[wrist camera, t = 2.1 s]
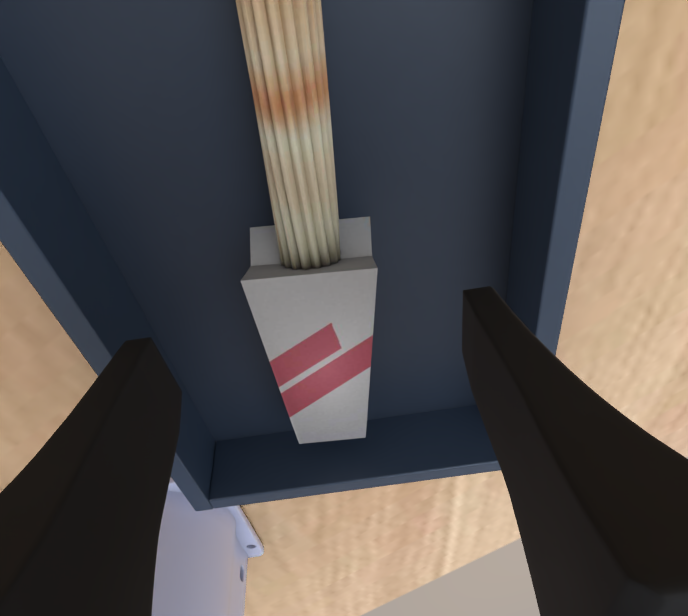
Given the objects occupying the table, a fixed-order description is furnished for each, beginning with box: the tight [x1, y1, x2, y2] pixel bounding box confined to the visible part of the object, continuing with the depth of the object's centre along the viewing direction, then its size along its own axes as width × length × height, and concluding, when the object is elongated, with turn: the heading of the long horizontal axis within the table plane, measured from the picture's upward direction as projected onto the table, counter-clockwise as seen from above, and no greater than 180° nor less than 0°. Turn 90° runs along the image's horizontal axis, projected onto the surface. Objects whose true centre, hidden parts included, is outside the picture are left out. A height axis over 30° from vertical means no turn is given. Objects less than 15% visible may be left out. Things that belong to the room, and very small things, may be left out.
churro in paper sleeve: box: [236, 0, 378, 444], centre depth 16 cm, size 4×3×20 cm
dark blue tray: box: [0, 0, 625, 511], centre depth 16 cm, size 24×15×3 cm, turn 8°
